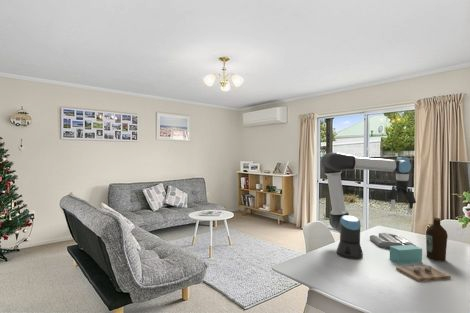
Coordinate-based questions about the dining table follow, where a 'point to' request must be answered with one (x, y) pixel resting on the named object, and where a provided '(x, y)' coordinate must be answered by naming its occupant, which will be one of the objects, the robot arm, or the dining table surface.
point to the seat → (423, 273)
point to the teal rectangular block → (405, 254)
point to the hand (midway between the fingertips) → (400, 211)
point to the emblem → (389, 240)
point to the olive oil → (436, 241)
